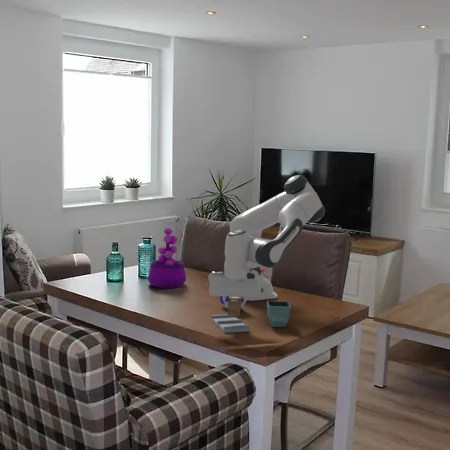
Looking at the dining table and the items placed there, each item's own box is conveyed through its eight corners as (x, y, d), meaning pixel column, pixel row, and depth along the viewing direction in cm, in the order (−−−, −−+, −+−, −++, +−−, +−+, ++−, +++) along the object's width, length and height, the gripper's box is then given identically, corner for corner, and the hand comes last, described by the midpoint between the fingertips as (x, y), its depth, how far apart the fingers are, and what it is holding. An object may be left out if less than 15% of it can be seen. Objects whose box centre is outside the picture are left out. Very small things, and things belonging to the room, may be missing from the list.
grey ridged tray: (234, 319, 255) (234, 313, 254) (248, 331, 239) (249, 325, 238) (211, 320, 252) (211, 315, 251) (224, 332, 236) (224, 327, 235)
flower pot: (287, 322, 252) (288, 301, 251) (290, 329, 243) (291, 306, 242) (265, 322, 252) (266, 300, 251) (267, 328, 243) (268, 306, 242)
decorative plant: (160, 281, 319) (162, 223, 315) (192, 286, 311) (194, 227, 307) (140, 288, 302) (141, 227, 298) (173, 293, 294) (174, 231, 290)
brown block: (229, 309, 245) (229, 295, 244) (240, 310, 245) (241, 296, 244) (227, 315, 236) (228, 301, 235) (239, 316, 236) (239, 301, 235)
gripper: (207, 273, 236) (206, 308, 238) (261, 275, 235) (260, 310, 237) (209, 269, 242) (208, 304, 244) (261, 272, 241) (260, 306, 243)
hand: (234, 307), depth 240 cm, fingers closed on brown block, 5 cm apart
